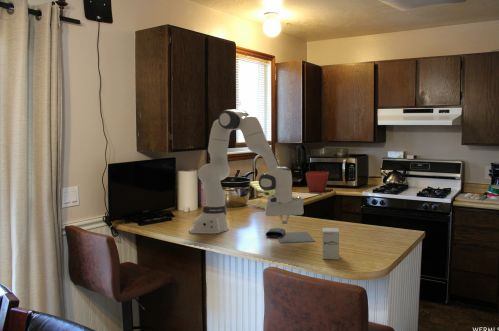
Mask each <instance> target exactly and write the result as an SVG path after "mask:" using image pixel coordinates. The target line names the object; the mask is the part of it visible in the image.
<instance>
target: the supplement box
mask: <svg viewBox="0 0 499 331" xmlns="http://www.w3.org/2000/svg"><path fill="white" fill-rule="evenodd" d="M321 229H322V231H321V234H322V235H321V241H322V242H321V244H322V245H321V249H322V250H321V256H322V260H340V229H339V227H337V228H335V227H322V228H321Z"/></svg>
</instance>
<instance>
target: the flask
mask: <svg viewBox="0 0 499 331" xmlns="http://www.w3.org/2000/svg"><path fill="white" fill-rule="evenodd" d="M284 233H286V229H284V228H280V227H279V228H278V227H276V228H275V227H274V228H270V229H268V230H267V232H265V237H268V238H269V237H273V238H277V237H282V236H283V235H284Z"/></svg>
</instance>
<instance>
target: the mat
mask: <svg viewBox="0 0 499 331" xmlns="http://www.w3.org/2000/svg"><path fill="white" fill-rule="evenodd" d="M276 239H277V240H278V242H279V244H289V243H290V244H291V243H296V244H297V243H312V242H313V243H314V242H316V240H315V239H314V238H313V236H312V235H310V233H309V232H308V231H296V232H295V231H294V232H293V231H292V232H291V231H290V232H285V233H284V235H283V236H282V237H276Z"/></svg>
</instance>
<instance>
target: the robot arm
mask: <svg viewBox="0 0 499 331" xmlns="http://www.w3.org/2000/svg"><path fill="white" fill-rule="evenodd" d="M238 130H240V131H241V133H242V137H243V138H244V143H245V145H246V147H247V149H248V150H249V151H251V152H253V153H255V154H257V155H259V156H260V157H262V158H263V160H264V162H265V164H266V166H267V168H268V172H264V173H263V174H261V175H260V176H259V178H258V181H259V186H260V188H261V189H262V190H265V191H270V190H275V194H274V195H272V196H270V195H269V196H267V197H266V201H267V203H266V202H265V203H266V205H265V209H264V214H265V216H266V217H278V218H279V219H280V221H281V224H282V225H286V224H288V221H289V219H290V216H302V215H303V214H304V212H305V211H304V202H305V200H304V198H303V197H301V196H297V197H295V196H293V189H292V186H293V174H292V171H291V169H290V167H286V166H281V165H280V164H279V161H278V160H277V157H276V155H275V152H274V151H273V149H272V147H271V145H270V144H269V142H268V140H267V137H266V135H265V133H264V129H263V127H262V125H261V123H260V121H259V119H258V118H257V116H255V115H250V114H249V113H248V112H247V111H245V110H242V109H225V110H223V111H221V112H220V113H219V115H218V118H217V119H216V120H214V121H213V123H212V125H211V128H210V134H209V140H208V147H207V153H208V154H209V158H210V160H209V162H210V163H205V164H204V165H202V166H201V167H200V168H199V169H198V171H197V176H198V179H199V181H201V183H202V185H203V188H204V193H205V205H202V207H201V209H202V213H200V214H199V215H198V216H197V217H196V218H195V219H194V221H193V225H192V226H191V227H190V228H189V233H191V234H220V233H223V232H227V231H229V230H230V228H229V225H228V221H227V205H226V193H225V190H224V189H223V186H222V184H221V181H223V180H225V179H226V178H227V177H228V176H230V173H231V168H230V165H229V163H228V162H229V161H228V160H229V159H228V150H229V142H230V136H231V132H232V131H238ZM283 216H286V218H285V219H283Z"/></svg>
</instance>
